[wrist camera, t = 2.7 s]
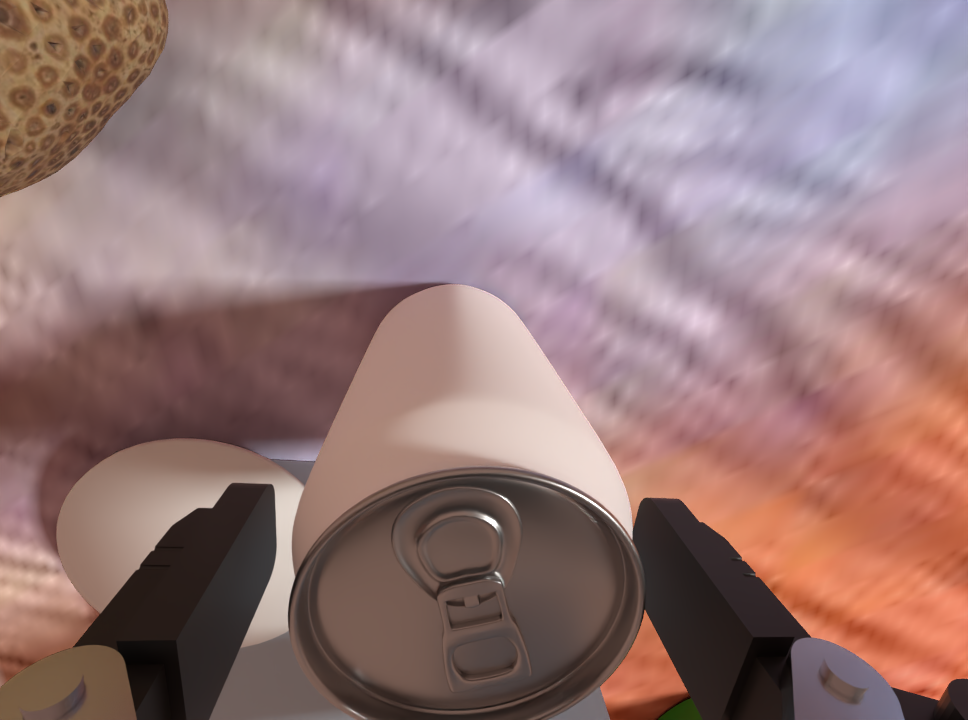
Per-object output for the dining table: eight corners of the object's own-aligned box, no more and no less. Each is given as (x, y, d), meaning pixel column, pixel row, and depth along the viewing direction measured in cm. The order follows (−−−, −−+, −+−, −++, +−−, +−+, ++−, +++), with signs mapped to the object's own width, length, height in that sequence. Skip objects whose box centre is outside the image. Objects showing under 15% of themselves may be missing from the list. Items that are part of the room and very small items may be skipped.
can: (519, 267, 17) (669, 400, 6) (540, 416, 20) (677, 715, 8) (350, 298, 17) (184, 496, 6) (392, 446, 19) (327, 791, 8)
